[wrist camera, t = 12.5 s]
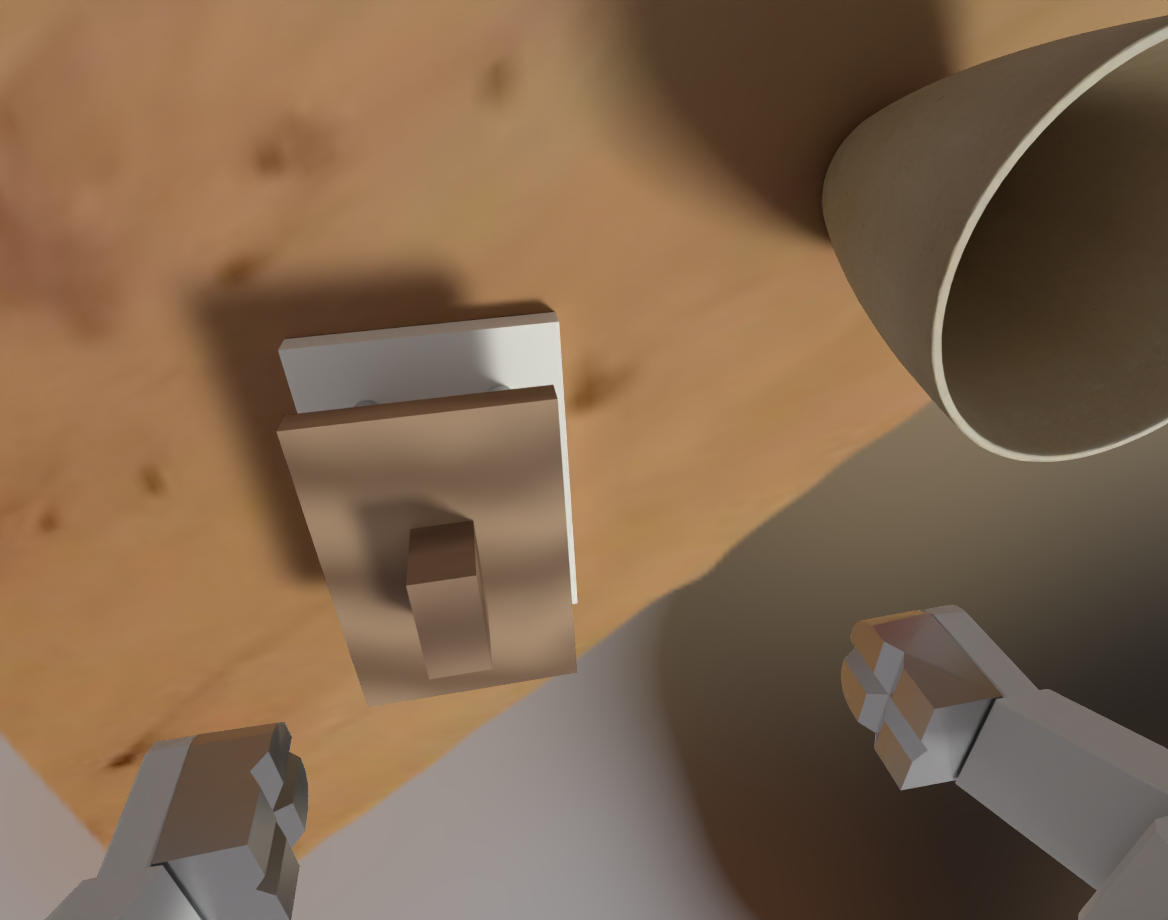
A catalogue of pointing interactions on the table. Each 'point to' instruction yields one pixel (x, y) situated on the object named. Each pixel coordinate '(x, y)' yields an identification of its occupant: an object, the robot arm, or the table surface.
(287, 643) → the table surface
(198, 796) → the robot arm
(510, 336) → the peg stand
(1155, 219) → the plant pot
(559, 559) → the shelf board
